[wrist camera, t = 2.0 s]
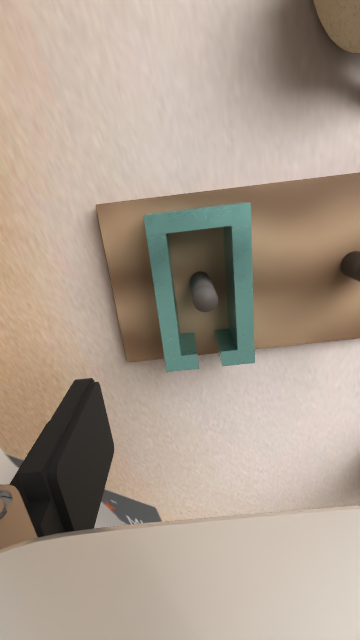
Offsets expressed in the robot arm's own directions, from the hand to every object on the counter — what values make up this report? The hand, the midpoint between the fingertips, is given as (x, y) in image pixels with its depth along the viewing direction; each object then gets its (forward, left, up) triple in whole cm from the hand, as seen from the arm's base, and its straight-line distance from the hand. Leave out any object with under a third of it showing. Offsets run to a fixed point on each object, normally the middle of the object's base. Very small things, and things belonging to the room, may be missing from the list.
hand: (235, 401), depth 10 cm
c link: (0, 0, -15) cm, 15 cm away
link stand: (-1, +4, -16) cm, 17 cm away
